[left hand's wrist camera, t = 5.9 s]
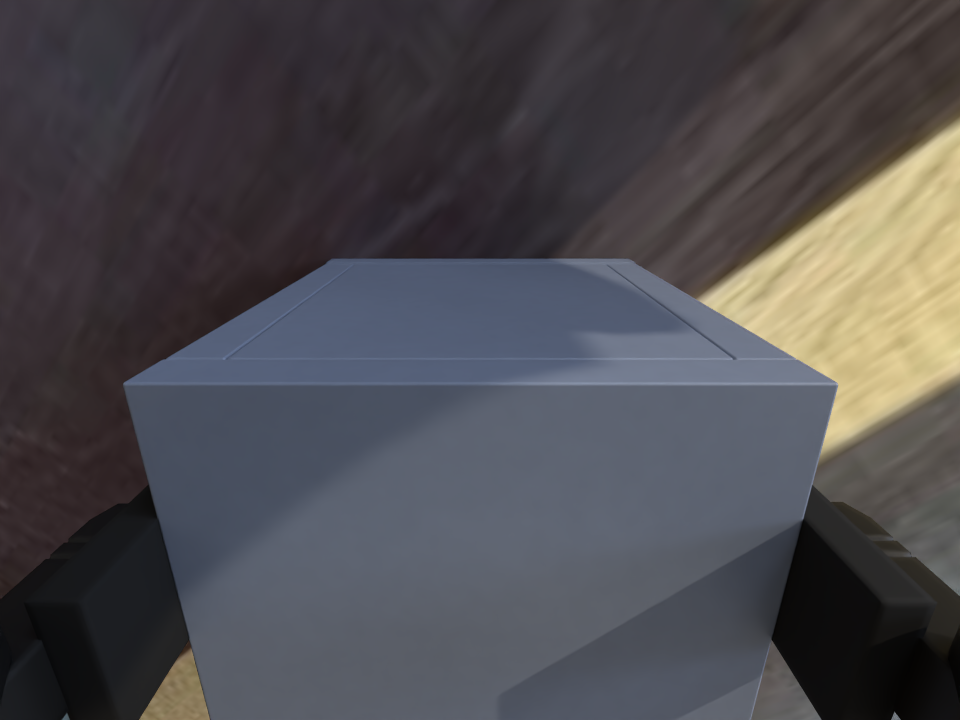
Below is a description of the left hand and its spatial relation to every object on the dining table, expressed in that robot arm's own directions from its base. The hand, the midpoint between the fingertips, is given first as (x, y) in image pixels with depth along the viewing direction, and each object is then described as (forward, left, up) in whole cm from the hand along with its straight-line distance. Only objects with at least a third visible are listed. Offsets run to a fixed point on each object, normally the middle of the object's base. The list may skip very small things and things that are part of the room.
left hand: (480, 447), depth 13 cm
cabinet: (+3, +1, -7) cm, 8 cm away
